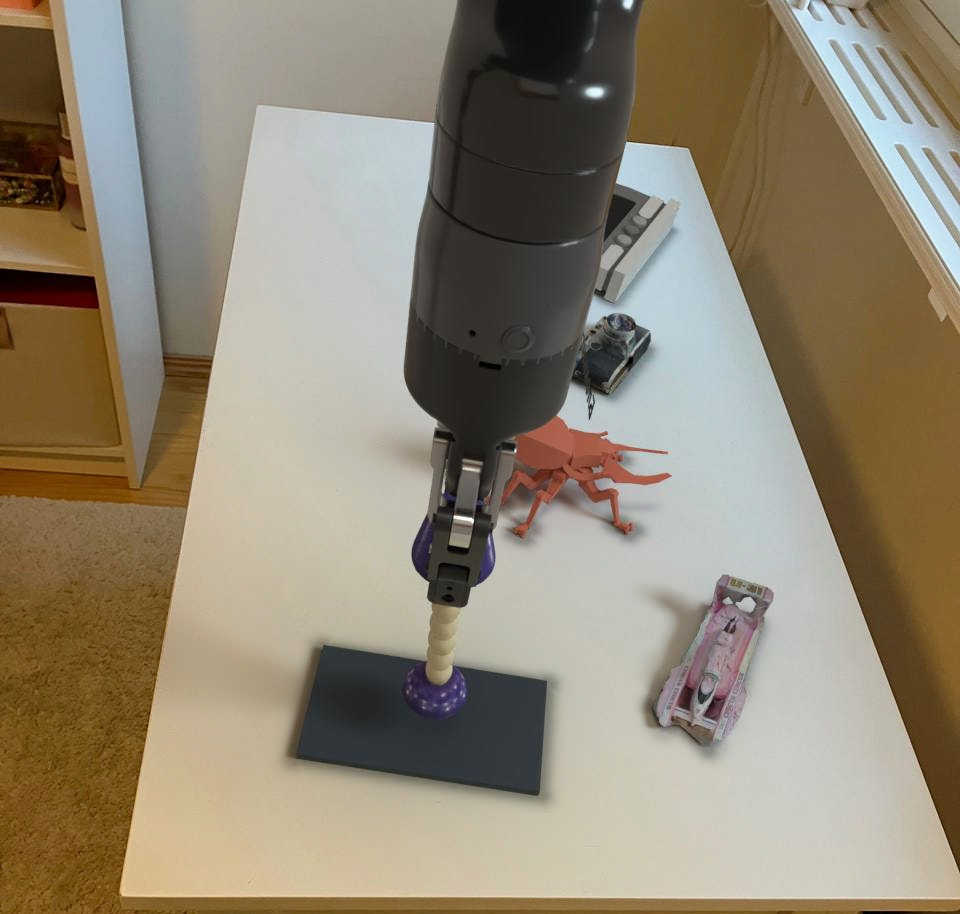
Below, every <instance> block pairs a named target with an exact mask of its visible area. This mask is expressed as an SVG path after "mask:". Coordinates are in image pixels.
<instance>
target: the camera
mask: <svg viewBox="0 0 960 914" xmlns="http://www.w3.org/2000/svg"><path fill="white" fill-rule="evenodd" d="M651 333H652V332H651V330H650V329H647V328H645V327H643V326H640V325H638V324H637V323H636V319H634V318H633V317H632V316H630V315H628V314H626V313H621V312H613V313H610V314H608V315H604V316H602V317H601V318H600V319H599V320H598V321H597V322H596V323H595V324H594V326H593V327H591V329H590V330H589V331H588V332H587V333H586V334H585V335H586V336H585V341H584V343H586V345H585V348H586V354H587V360H586V362H587V361H588V364H587V365H588V369H589V375H588V377H589V378H590V386H593V387H594V388H597V389H598V390H601V391H603V392H605V393H606V394H609V395H612V394H613V393H614V392H615V391H616V389H617V388H618V387H619V386H620V385H621V383H622V382H623V380H624V379H625V378H626V377H627V376H628V375H629V373H630V371H632V369H633V368H634V366H635V365H636V364H637V363H638V362H639V360H640V359H641V358H642V357H643V356H644V354H645V353H646V352H647V350H648V348H649V346H650V344H651V342H652V334H651ZM582 343H583V341H581V344H580V348H579V352H578V356H577V360H576V363H575V367H574V371H573V375H572V377H574V378H576V379H578V380H580V381H582V382H584V383H585V381H584V376H585V375H583V373H584V368H583V364H584V362H583V364H582V360H583V356H582V358H581V355H582V351H583V349H582V351H581V347H582ZM583 347H584V345H583ZM584 352H585V349H584ZM586 354H585V356H586ZM584 360H585V358H584ZM586 371H587V367H586ZM586 371H585V374H586ZM585 380H586V379H585ZM587 380H588V379H587ZM586 384H587V382H586ZM588 385H589V382H588Z"/></svg>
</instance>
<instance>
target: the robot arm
mask: <svg viewBox="0 0 960 914" xmlns="http://www.w3.org/2000/svg"><path fill="white" fill-rule="evenodd" d="M644 2H645V0H456V4H455V11H454V16H453V20H452V25H451V29H450V33H449V36H448V39H447V45H446V49H445V53H444V59H443V63H442V68H441V73H440V77H439V83H438V90H437V99H436V104H435V113H434V120H433V121H434V122H433V131H432V140H431V141H432V142H431V151H430V159H429V170H428V171H429V172H428V181H427V187H426V194H425V196H424V197H425V198H424V202H423V206H422V210H421V214H420V217H419V221H418V226H417V232H416V239H415V247H414V258H413V269H412V279H411V288H410V297H409V306H408V307H409V308H408V318H407V327H406V328H407V329H406V339H405V347H404V348H405V349H404V357H403V358H404V359H403V378H404V382H405V385H406V388H407V390H408V393H409V394H410V396H411V397H412V399H413V400H414V402H415V404H417V405H418V407H420V408H421V410H423V411H424V412H425V413H426V414H428V416H429V417H431V418H433V419H434V420H436V426H434V430H433V435H432V442H431V450H430V457H429V463H430V466H431V467H432V470H433V473H432V479H431V486H430V493H429V499H428V504H427V505H428V506H427V512H426V514H427V516H428V518H429V520H430V521H432V524H435V526H434V533H433V540H432V543H430V547H429V553H431V554H430V561H429V562H428V561H427V563H426V569H425V571H426V572H428V575H427V579H430V580H429V582H428V587H427V592H426V593H427V594H426V599H427V600H428V602H429V603H431V604H432V603H433V604H439V605H445V606H451V607H457V608H461V609H462V608H464V607H465V608H466V606H468V603H469V600H470V595H471V594H470V593H471V589H472V588H476V587H477V586H478V585H477V581H478V580H480V579H481V573H482V570H480V569H481V565H482V561H483V557H484V553H485V549H486V545H487V541H488V537H489V534H492V535H493V531H494V530H495V529H496V528H497V525H498V520H499V514H500V510H501V506H502V505H501V500H502V495H503V494H504V488H505V485H506V482H507V481H508V480H509V479H510V478H511V477H512V475H513V471H514V465H515V461H516V459H515V456H516V450H517V441H513V440H514V439H515V437H516V436H518V435H521V434H525V433H528V432H531V431H534V430H536V429H538V428H540V427H542V426H544V425H545V424H547V423H548V422H550V421H551V420H552V419H553V418H554V417H555V416H558V414H559V413H560V411H562V408H563V407H564V405H565V403H566V401H567V397H568V395H569V390H570V386H571V383H572V378H573V376H572V375H573V371H574V367H575V363H576V360H577V356H578V355H579V348H580V344H581V343H582V342H583V333H584V334H585V329H586V325H587V322H588V317H589V313H590V310H591V306H592V302H593V299H594V294H595V292H596V291H595V290H596V288H595V287H596V283H597V279H598V275H599V270H600V266H601V259H602V250H603V240H604V232H605V226H606V221H607V216H608V212H609V208H610V204H611V200H612V196H613V192H614V188H615V185H616V183H617V180H618V176H619V172H620V169H621V165H622V161H623V157H624V153H625V149H626V146H627V142H628V137H629V132H630V129H631V124H632V123H631V122H632V118H633V113H634V105H635V98H636V90H637V70H638V69H637V65H638V64H637V41H638V33H639V25H640V20H641V14H642V10H643V6H644ZM444 477H445V478H444ZM443 484H444V492H443ZM446 492H448V493H449V494H450V495H451V496H453V497H456V501H453V500H448V499H446V498H445V497H444V496H443V493H446ZM489 494H490V499H489V501H488V502H487V503H485V502H484V501H485V499H487V498H488V496H489ZM479 500H481V501H482V502H483V503H484V505H476V503H477V501H479ZM471 586H472V587H471Z"/></svg>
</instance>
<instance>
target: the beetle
mask: <svg viewBox="0 0 960 914" xmlns="http://www.w3.org/2000/svg"><path fill="white" fill-rule="evenodd" d="M585 335H586V334H585V332H584V333H583V337H582V342H583V343H582V342H581V343H582V347H581V351H582V349H583V351H582V355H581V358H582V356H583V360H582V364H583V362H584V364H583V368H584V373H583V375H585V376H584V381H585V382H584V381H583V382H584V385H585V396H586V397H587V398H586V403H587V410H588V421H590V420H591V419H592V414H593V412H594V409H595V404H596V400H595V393H593V391H592V387H591V385H590V378H589V377H588V375H589V369H588V365H587V364H588V361H587V362H586V360H587V354H586V348H585V345H586V343H584V342H585V339H586V336H585ZM583 345H584V347H583ZM584 349H585V352H584ZM585 354H586V356H585ZM584 358H585V360H584ZM586 367H587V371H586ZM585 371H586V374H585ZM585 379H586V380H585ZM587 379H588V380H587ZM586 382H587V383H586ZM588 382H589V384H588ZM591 400H592V402H591ZM608 435H609V432H608V431H607V430H606V431H603V432H599V433H598V432H586V431H584V430H583V431H582V430H578V429H575V428H571V427H570V428H569V427H568V425H567V424H566V423H565V420H564V419H562V418H561V417H560V416H558V415H556V416H555V417H554V418H553V419H552V420H551V421H550V422H548V423H547V424H545V425H544V426H542V427H540V428H538V429H536V430H534V431H531V432H528V433H525V434H521V435H518V436H516V437H515V439H514V440H513V441H517V450H516V456H515V461H518V462H520V463H522V464H523V465H524V466H526V467H530V468H532V469H538V470H537V471H536V473H534V474H533V476H532V475H529V474H528V473H527V472H525V471H524V470H523V469H521V470H520V469H517V470H515V471H514V472H513V473H512V475H513V477H512V478H511V480H510V482H509V483H508V484H507V487H506V488H505V491H503V495H502V500H501V505H500V506H503V505H506V501H507V499H508V498H509V497H510V495H511V494H512V493H513V491H514V490H515V489H516V488H517V487H518V485H519V484H520V483H521V484H523V485H524V486H525V487H526V488H527V489H528V490H530V491H531V490H534V489H536V488H537V487H539V486H540V485H542V484H544V483H546V482H549V481H550V482H549V484H548V486H547V488H546V490H544V489H542V488H541V489H538V490H537V491H536V493H535V495H534V500H533V503H532V505H531V508H530V511H529V514H528V516H527V518H526V521H524V523H523V524H521V526H520V525H516V526H515V528H514V531H513V533H514V534H515V535H517V534H518V535H520V538H521V539H525V536H526V534H527V533H528V532H527V531H528V530H530V529H531V527H532V523H533V521H534V519H535V517H536V515H537V513H538V511H539V508H540V507H541V506H542V503H545V504H546V505H550V504H551V503H552V501H553V499H554V498H555V497H556V496H557V494H558V493H559V492H560V491H561V490H562V488H563V485H564V484H566V482H567V481H568V480H569V479H572V480H574V481H576V482H578V487H579V488H580V489H582V490H583V491H584V493H585V494H586V495H587V496H588V498H589V499H590V500H591V501H592V502H593V503H595V504H598V503H600V502H604V501H606V500H609V503H610V507H611V513H612V517H613V526H614V527H615V528H618V529H619V530H621V531H623V532H624V535H626V536H628V535H630V532H631V531H633V530H634V524H633V522H629V523H626V522H621V520H620V511H619V497H618V496H619V495H620V493H619V491H618V490H617V489H616V488H613V487H609V488H605V489H601V490H600V489H598V486H597V485H596V483H595V481H598V480H601V479H610V480H611V481H612V482H613V483H614V484H633V485H640V486H647V485H653V484H659V483H661V482H663V481H665V480H667V479H669V478H672V477H673V475H672V474H670V473H669V472H664V473H659V474H652V475H637V474H634V473H632V472H630V471H628V469H625V468H624V467H622V465H620V464H619V463H618V461H619V462H623V461H624V456H623V454H619V453H618V452H642V453H651V454H660V455H669V451H665V450H657V449H650V448H649V449H648V448H642V447H641V448H640V447H633V446H628V445H625V444H621V443H614V442H611V440H609V439H608V438H607V437H605V436H608ZM602 437H605V438H602ZM600 467H601V468H602V469H601V471H599V472H594V470H593V468H594V469H595V468H596V469H599V468H600ZM490 496H491V495H490ZM490 496H489V495H488V496H487V497H486V500H485V502H484V504H486V503H487V502H488V501H489V499H490Z"/></svg>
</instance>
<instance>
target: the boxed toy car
mask: <svg viewBox="0 0 960 914" xmlns="http://www.w3.org/2000/svg"><path fill="white" fill-rule="evenodd" d="M774 595H775V592H774V591H772V589H771V588H769V587H768V586H764V585H762V584H759V583H756V582H752V581H748V580H745V579H742V578H738V577H735V576H730V575H729V574H722V575H721V577H719V579H717V581H716V584H715V588H714V592H713V596H712V602H711V604H710V605H709V607H708V608H707V610H706V614H705V615H704V617H705V618H704V620H703V621H702V623H700V627H699V630H698V632H697V634H696V635H695V638H693V640H692V643H691V644H690V645H689V648H688V649H687V651H686V652H685V653H684V655H683V656H682V658H681V661H682V662H681V663H680V664H679V665H678V666H675V667H672V668H671V670H670V671H669V676H668V679H667V680H665V682H663V683H662V686H661V688H660V689H661V690H662V692H661V693H660V694H659V695H658V697H657V698H656V699H655V700H654V703H653V708H652V709H653V711H654V714H655V715H656V717H657V718H658V722H659V724H660V726H662V727H663V728H667V727H671V726H675V725H678V726H680V727H681V728H682V729H684V730H685V731H686V732H687V733H688V734H690V735H691V736H692V737H693V738H694V739H695V740H696V741H697V742H698V743H700V744H701V745H702V746H703V747H705V746H706V745H711V744H713V743H715V742H719V741H720V742H721V740H722V739H723V738H724V737H725V736H726V735H728V734H729V732H730V731H731V730H732V728H733V727H734V725H735V724H736V723H737V721H738V720H739V719H740V716H741V714H742V711H743V709H744V706H745V703H746V700H747V697H748V694H747V690H746V688H745V682H746V678H747V674H748V669H749V667H750V663H751V658H752V656H753V654H754V651H755V648H756V646H757V643H758V641H759V637H760V634H761V632H762V630H763V626H764V623H765V616H764V615H765V614H766V613H767V611H768V609H769V608H770V606H771V605H772V603H773V601H774ZM728 598H729V601H731V603H727V604H726V603H724V602H723V601H725V600H726V599H728ZM745 598H746V599H747V598H750V599H751V600H752V601H753V602H754V603H755V606H754V608H753V610H752V611H750V612H749V611H746V610H743V609H741V608H739V606H738V605H737V603H742V601H744V599H745Z"/></svg>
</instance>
